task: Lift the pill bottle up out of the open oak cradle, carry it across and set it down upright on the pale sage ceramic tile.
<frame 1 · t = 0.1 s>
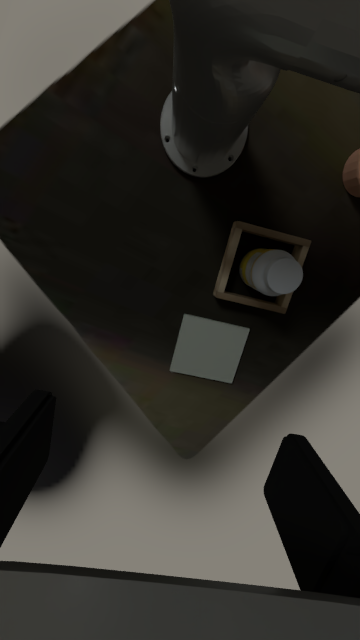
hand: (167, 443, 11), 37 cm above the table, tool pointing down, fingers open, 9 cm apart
ceramic tile: (208, 349, 49), on the table
oak cradle: (256, 267, 46), on the table
pill bottle: (256, 267, 46), resting in oak cradle
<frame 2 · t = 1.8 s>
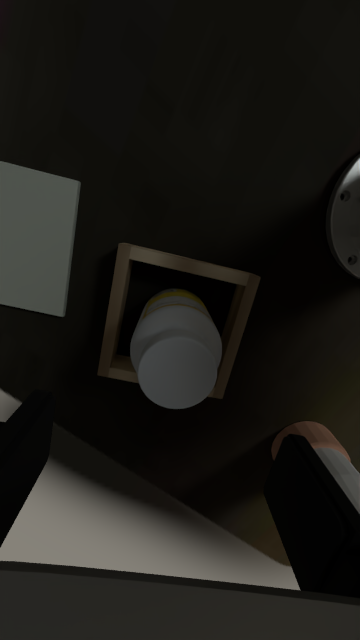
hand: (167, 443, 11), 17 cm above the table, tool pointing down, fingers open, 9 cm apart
ceramic tile: (10, 238, 24), on the table
oak cradle: (174, 318, 27), on the table
pill bottle: (174, 318, 27), resting in oak cradle
pepper shaker: (301, 445, 32), on the table
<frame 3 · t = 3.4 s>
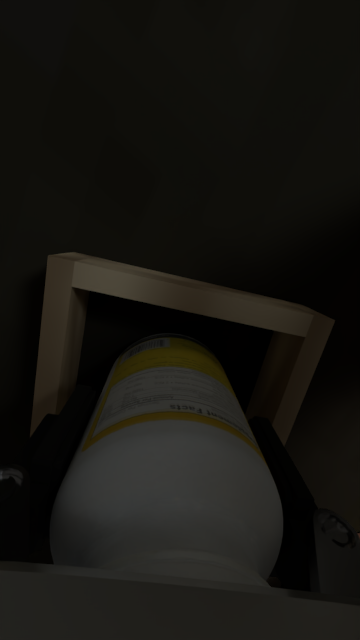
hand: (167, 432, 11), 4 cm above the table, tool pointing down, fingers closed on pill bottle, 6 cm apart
oak cradle: (167, 382, 15), on the table
pill bottle: (167, 380, 16), resting in oak cradle, touching gripper
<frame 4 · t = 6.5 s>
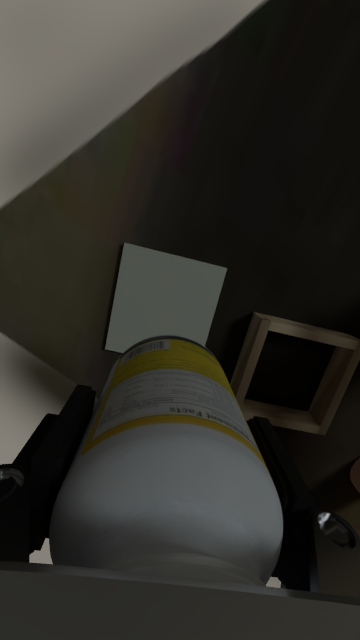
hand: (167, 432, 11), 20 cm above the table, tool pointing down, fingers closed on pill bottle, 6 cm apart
ceramic tile: (164, 308, 30), on the table
oak cradle: (284, 369, 33), on the table
pill bottle: (167, 382, 16), point 16 cm above the table, touching gripper
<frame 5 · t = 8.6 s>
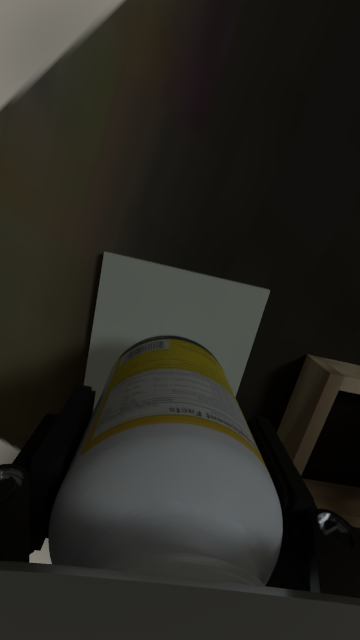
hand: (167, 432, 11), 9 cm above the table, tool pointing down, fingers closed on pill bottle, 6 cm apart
ceramic tile: (169, 352, 20), on the table
oak cradle: (349, 434, 22), on the table
pill bottle: (167, 382, 16), point 4 cm above the table, touching gripper
when the fingers open (6 cm above the table, at t = 10.0 s): pill bottle drops 1 cm, resting on ceramic tile.
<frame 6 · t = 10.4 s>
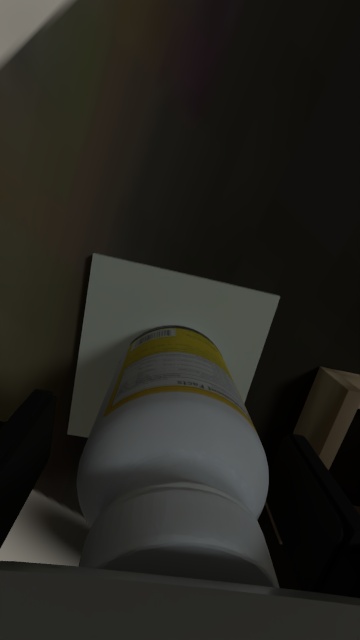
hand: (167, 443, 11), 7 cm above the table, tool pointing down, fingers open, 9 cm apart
ceramic tile: (167, 365, 18), on the table
pill bottle: (172, 368, 17), resting on ceramic tile
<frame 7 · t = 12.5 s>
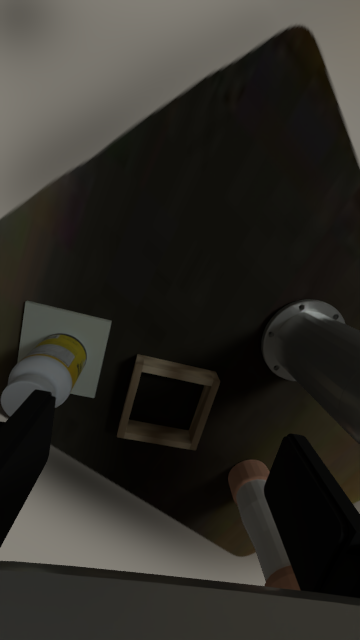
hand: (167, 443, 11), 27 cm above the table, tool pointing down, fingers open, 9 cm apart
ceramic tile: (63, 351, 38), on the table
oak cradle: (166, 397, 41), on the table
pill bottle: (64, 352, 37), resting on ceramic tile
pepper shaker: (247, 475, 48), on the table
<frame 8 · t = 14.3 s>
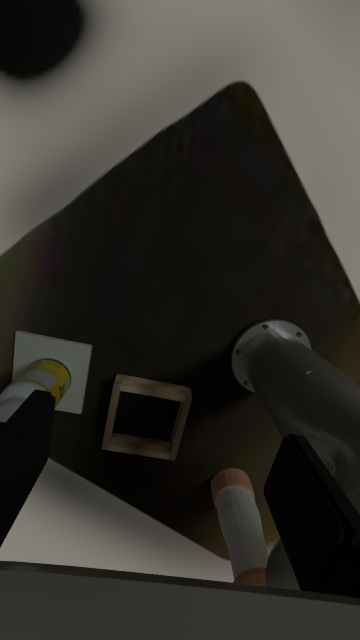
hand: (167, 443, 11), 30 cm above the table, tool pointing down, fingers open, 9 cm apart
ceramic tile: (51, 373, 42), on the table
oak cradle: (147, 412, 45), on the table
pill bottle: (52, 374, 42), resting on ceramic tile
pepper shaker: (229, 482, 50), on the table
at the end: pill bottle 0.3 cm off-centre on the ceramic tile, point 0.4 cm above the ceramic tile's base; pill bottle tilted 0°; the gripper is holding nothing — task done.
